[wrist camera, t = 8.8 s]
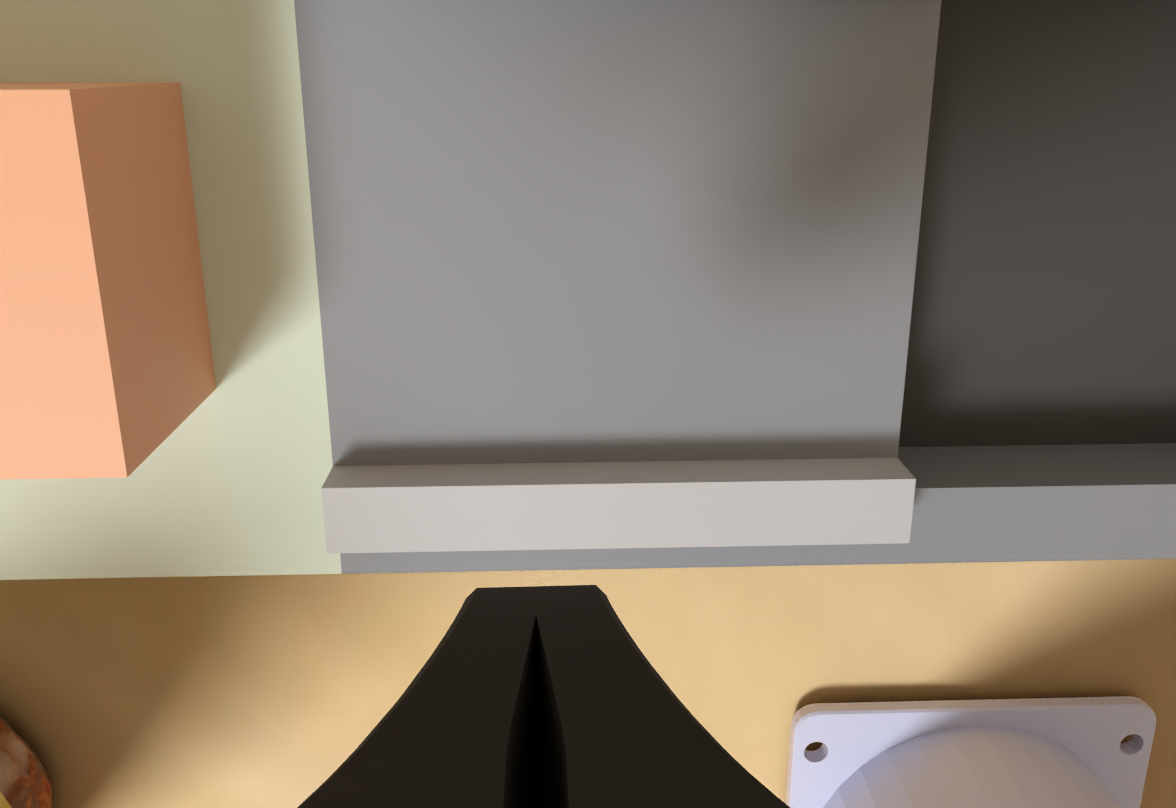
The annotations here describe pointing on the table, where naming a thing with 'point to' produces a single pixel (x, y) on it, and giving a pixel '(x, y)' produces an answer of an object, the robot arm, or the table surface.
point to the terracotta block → (96, 278)
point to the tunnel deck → (646, 285)
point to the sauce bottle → (21, 773)
